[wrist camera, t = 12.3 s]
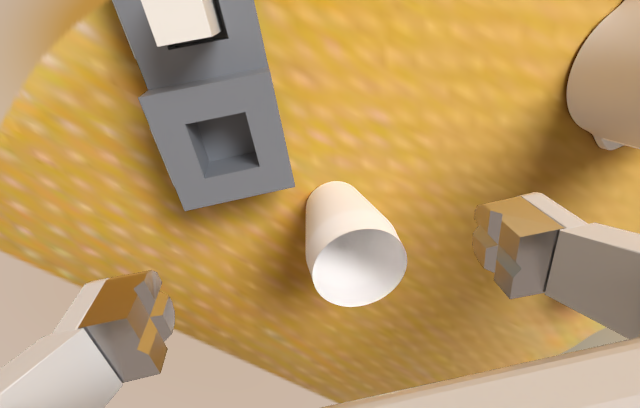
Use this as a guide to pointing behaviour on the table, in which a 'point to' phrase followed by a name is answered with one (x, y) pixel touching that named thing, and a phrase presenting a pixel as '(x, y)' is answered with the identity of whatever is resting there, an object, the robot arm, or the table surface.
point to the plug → (181, 20)
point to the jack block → (212, 107)
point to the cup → (351, 247)
